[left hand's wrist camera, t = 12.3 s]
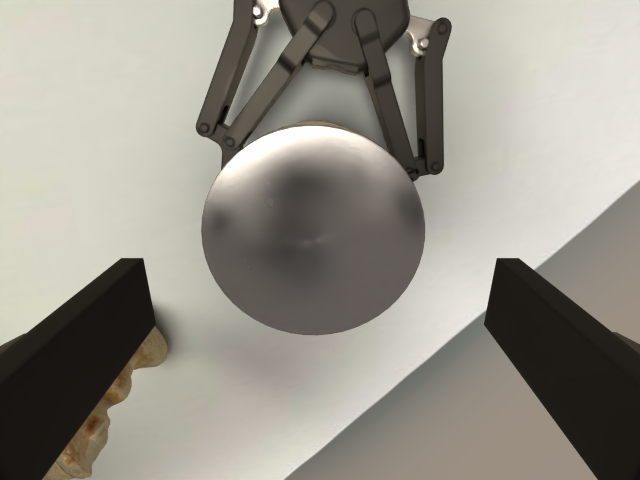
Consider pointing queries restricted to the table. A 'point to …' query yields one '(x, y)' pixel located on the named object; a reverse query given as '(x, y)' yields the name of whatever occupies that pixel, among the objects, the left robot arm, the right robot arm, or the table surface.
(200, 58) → the table surface
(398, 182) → the lid
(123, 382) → the sculpture
